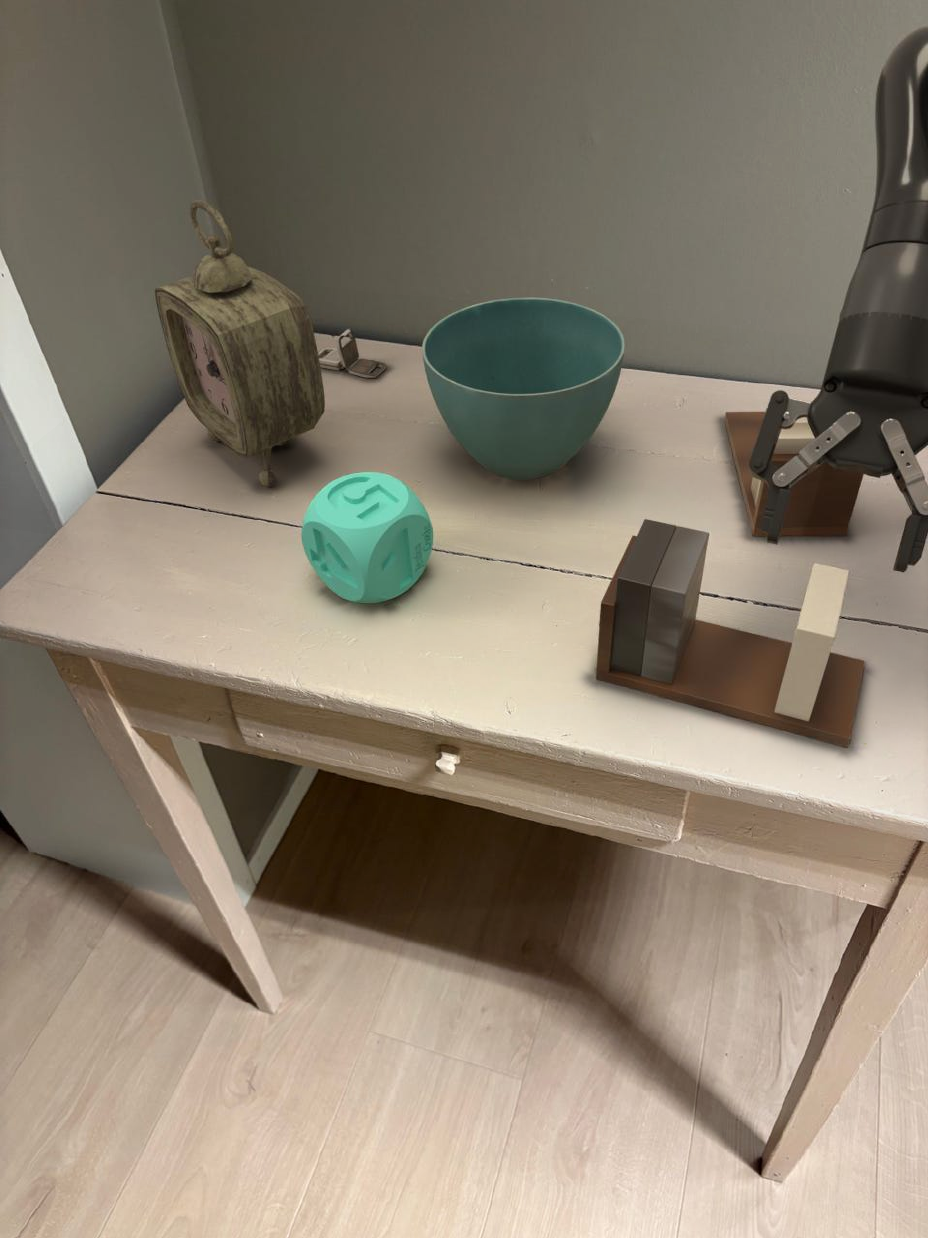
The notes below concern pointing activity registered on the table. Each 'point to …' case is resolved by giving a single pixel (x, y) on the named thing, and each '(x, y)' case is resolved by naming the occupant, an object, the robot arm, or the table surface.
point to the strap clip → (348, 358)
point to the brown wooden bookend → (704, 643)
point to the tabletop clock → (241, 351)
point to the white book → (812, 641)
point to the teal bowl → (523, 380)
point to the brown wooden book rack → (813, 500)
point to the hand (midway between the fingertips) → (834, 556)
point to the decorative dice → (367, 537)
